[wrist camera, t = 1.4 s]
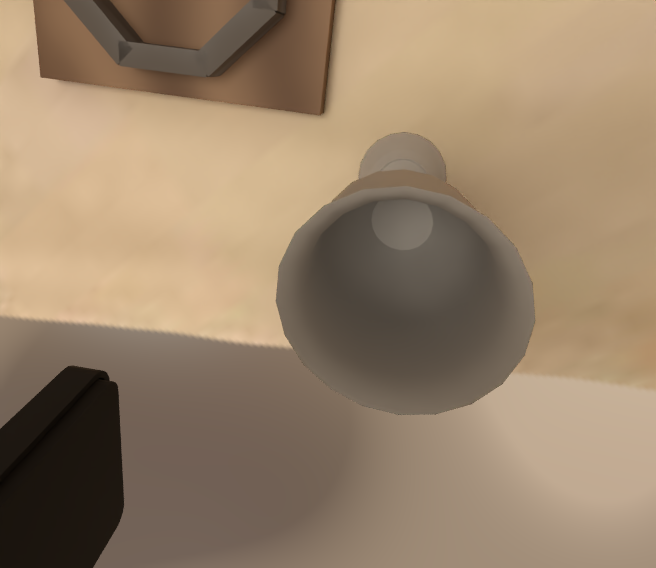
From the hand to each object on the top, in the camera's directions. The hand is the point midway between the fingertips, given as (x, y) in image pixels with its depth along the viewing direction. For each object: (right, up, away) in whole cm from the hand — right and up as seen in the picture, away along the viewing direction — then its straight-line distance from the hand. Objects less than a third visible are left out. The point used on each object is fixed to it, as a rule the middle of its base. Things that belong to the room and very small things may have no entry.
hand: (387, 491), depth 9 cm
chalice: (+3, +10, +23) cm, 25 cm away
